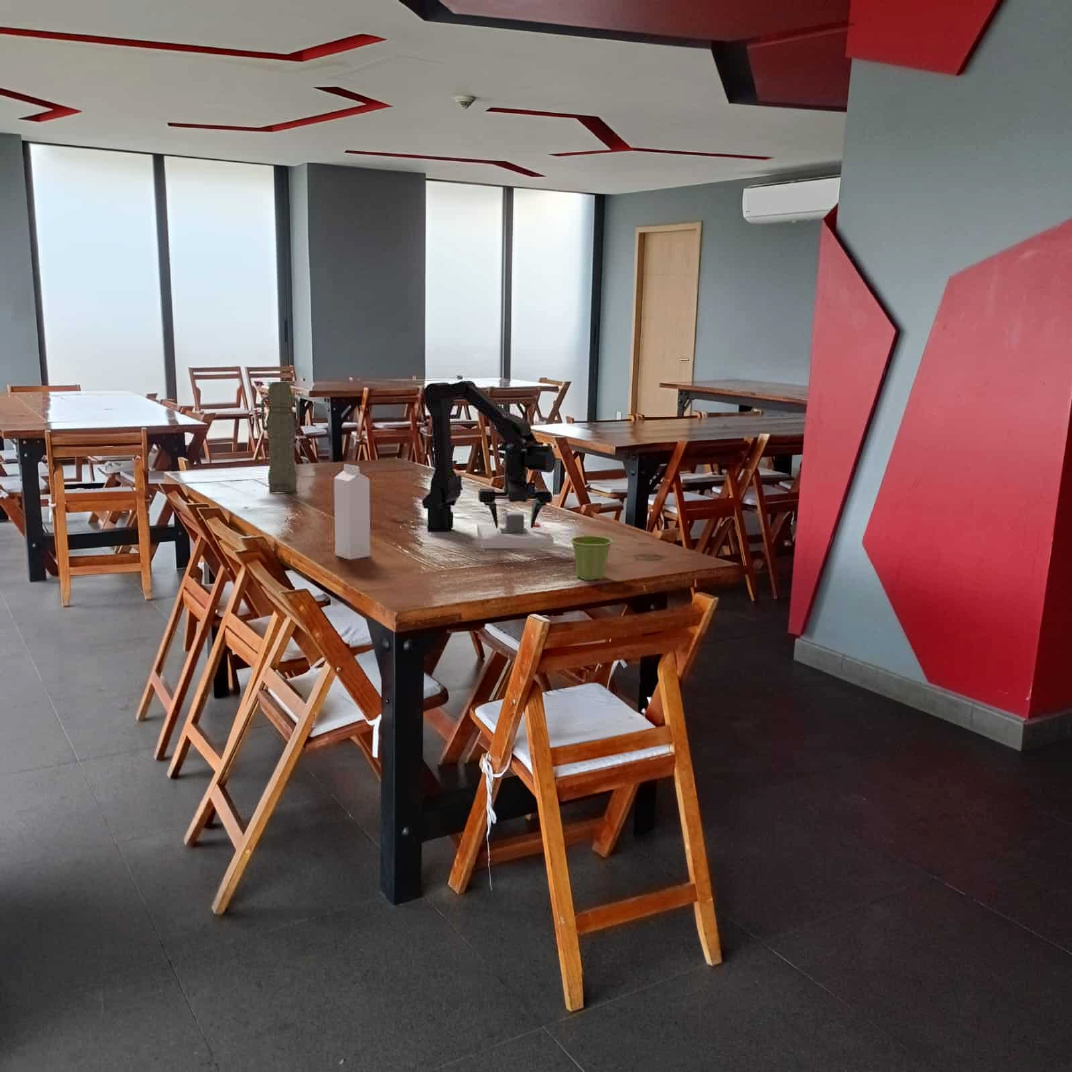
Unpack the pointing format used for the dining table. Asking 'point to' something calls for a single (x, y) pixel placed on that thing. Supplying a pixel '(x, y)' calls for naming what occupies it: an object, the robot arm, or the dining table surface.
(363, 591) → the dining table surface
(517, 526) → the plug
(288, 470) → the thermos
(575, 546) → the plant pot
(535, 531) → the socket plate
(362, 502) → the milk
